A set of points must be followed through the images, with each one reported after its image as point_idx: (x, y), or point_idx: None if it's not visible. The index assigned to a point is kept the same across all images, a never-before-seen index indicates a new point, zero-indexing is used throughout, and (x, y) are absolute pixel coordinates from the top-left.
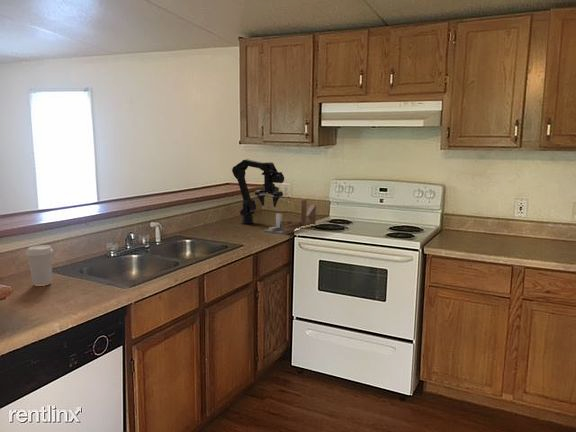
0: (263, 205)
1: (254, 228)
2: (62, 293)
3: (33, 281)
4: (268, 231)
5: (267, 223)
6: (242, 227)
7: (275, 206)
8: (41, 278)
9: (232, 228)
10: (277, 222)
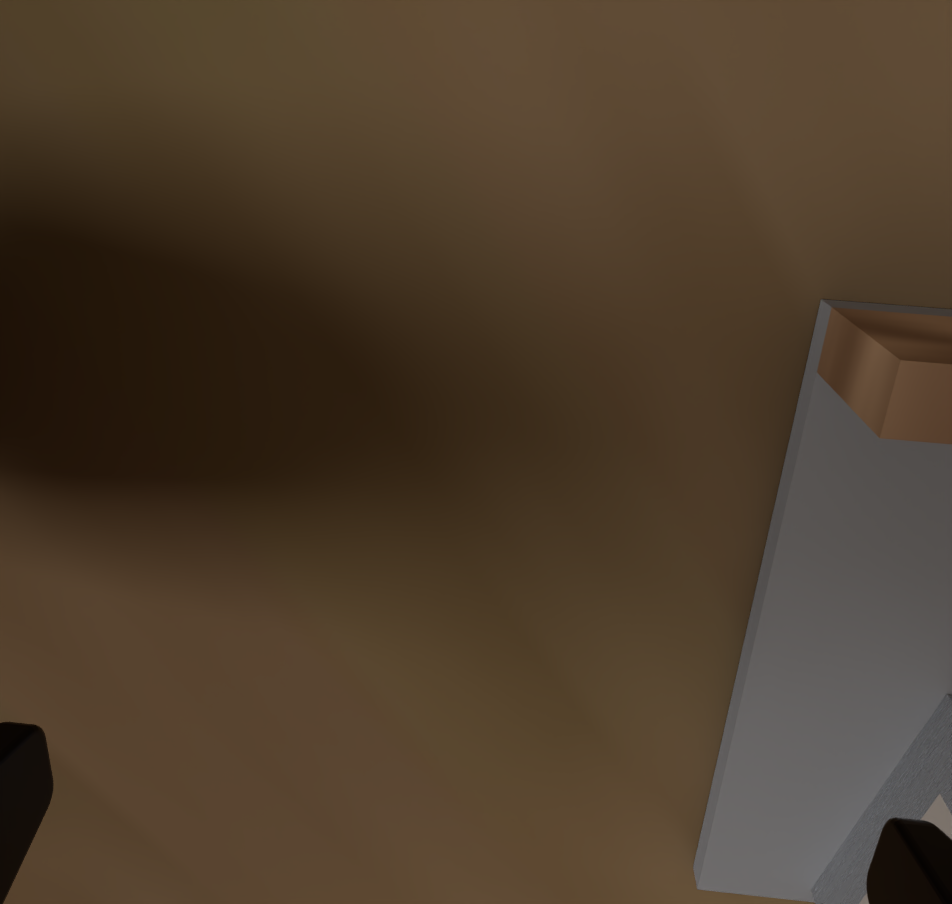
0: (33, 775)
1: (362, 721)
2: None
3: None
4: None
5: (196, 18)
6: (96, 738)
7: (950, 848)
8: None
9: (30, 870)
10: None
